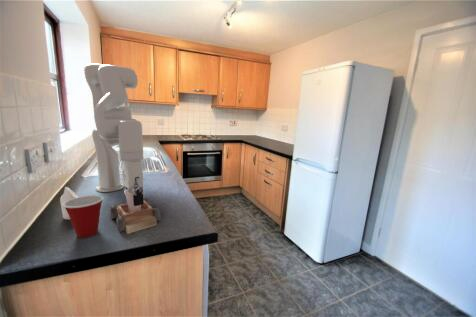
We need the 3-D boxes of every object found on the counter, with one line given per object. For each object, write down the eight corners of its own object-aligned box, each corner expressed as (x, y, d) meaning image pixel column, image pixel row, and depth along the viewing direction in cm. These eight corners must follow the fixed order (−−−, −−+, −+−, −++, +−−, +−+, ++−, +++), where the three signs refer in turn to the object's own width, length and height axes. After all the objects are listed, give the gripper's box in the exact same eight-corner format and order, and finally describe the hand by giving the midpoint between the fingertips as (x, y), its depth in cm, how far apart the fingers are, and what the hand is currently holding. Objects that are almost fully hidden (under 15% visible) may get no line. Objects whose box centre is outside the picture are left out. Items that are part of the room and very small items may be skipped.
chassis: (109, 215, 85) (108, 202, 84) (145, 206, 94) (144, 194, 93) (121, 235, 72) (120, 220, 71) (161, 223, 81) (161, 210, 80)
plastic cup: (103, 221, 80) (100, 191, 78) (109, 234, 72) (106, 201, 70) (65, 231, 73) (61, 197, 71) (68, 246, 65) (63, 209, 63)
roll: (79, 186, 81) (60, 190, 76) (83, 216, 83) (64, 221, 79) (74, 182, 84) (56, 186, 80) (78, 211, 87) (60, 216, 83)
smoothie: (125, 219, 78) (123, 182, 75) (125, 211, 83) (123, 176, 80) (145, 216, 81) (143, 180, 78) (143, 209, 86) (142, 175, 83)
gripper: (114, 152, 81) (117, 195, 84) (127, 161, 68) (130, 211, 72) (135, 150, 86) (137, 191, 89) (151, 159, 73) (153, 206, 77)
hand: (134, 200), depth 81 cm, fingers open, 9 cm apart
